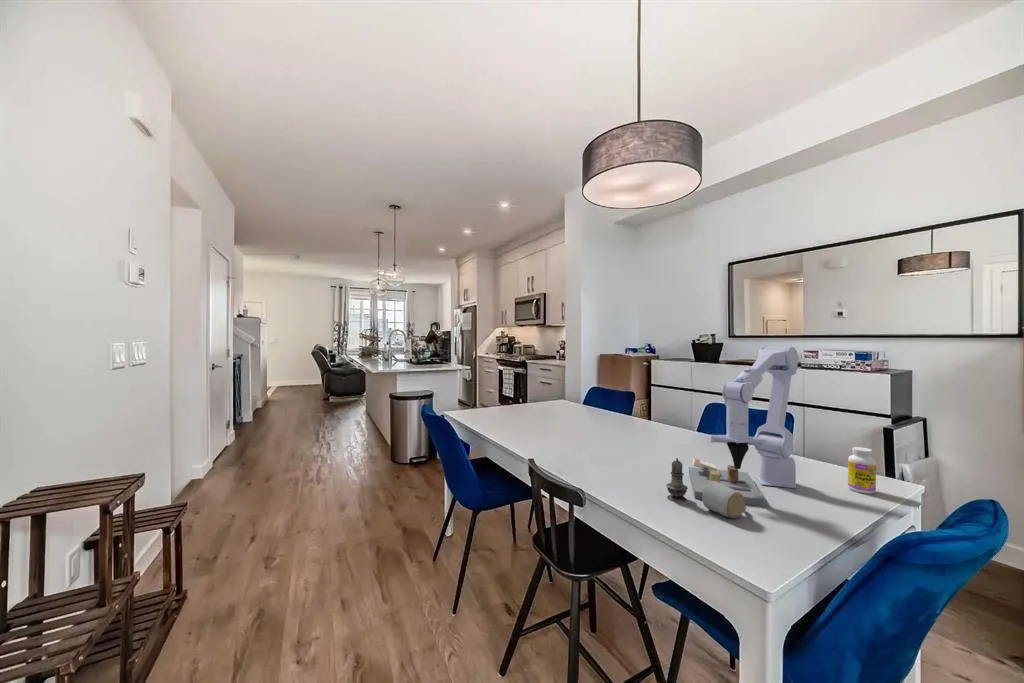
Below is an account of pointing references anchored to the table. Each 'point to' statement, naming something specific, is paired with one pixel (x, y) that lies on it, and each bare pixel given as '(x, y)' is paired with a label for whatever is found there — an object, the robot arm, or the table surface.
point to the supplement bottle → (862, 471)
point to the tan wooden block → (714, 476)
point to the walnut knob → (732, 474)
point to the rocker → (703, 464)
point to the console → (726, 484)
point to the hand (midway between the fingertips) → (737, 468)
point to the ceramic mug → (723, 500)
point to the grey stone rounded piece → (677, 483)
